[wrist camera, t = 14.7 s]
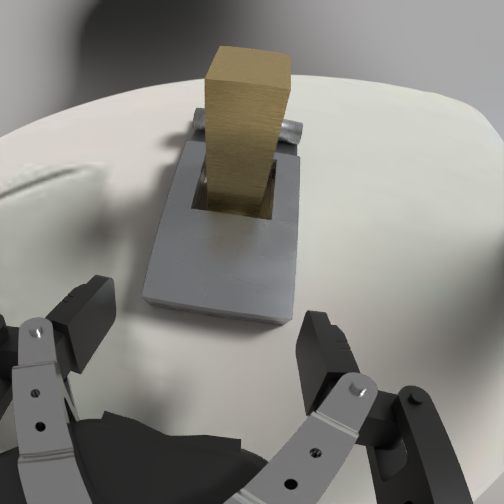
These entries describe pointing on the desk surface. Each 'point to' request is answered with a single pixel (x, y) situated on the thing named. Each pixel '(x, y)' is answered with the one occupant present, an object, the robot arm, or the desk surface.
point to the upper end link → (226, 249)
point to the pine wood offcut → (243, 125)
